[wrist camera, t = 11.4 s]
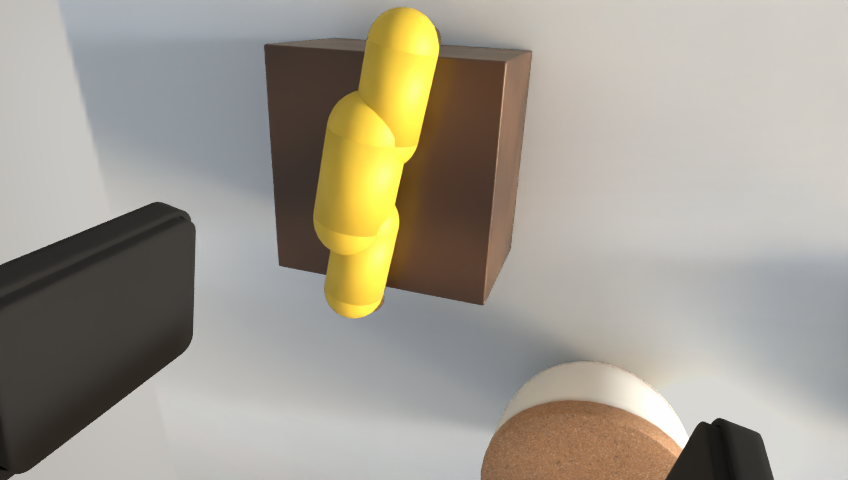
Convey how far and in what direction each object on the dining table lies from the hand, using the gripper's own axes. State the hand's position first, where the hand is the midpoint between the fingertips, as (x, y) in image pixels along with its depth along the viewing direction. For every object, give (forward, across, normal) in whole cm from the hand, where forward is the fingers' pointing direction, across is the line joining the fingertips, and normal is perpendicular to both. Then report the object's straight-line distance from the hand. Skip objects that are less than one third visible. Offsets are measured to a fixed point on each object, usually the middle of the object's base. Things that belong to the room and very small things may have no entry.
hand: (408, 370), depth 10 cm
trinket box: (+22, -7, +16) cm, 28 cm away
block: (+22, +7, +3) cm, 23 cm away
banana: (+15, +8, +2) cm, 17 cm away
